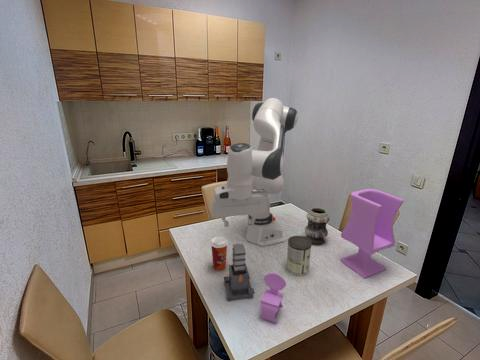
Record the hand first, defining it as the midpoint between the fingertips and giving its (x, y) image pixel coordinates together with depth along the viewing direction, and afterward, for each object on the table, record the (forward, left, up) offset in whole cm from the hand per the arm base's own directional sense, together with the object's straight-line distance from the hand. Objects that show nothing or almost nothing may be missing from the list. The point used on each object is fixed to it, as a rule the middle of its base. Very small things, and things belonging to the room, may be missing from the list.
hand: (239, 225), depth 94 cm
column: (0, 0, -27) cm, 27 cm away
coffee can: (-29, -9, -30) cm, 43 cm away
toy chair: (-10, +13, -30) cm, 34 cm away
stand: (0, 0, -30) cm, 30 cm away
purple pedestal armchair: (-60, -6, -30) cm, 67 cm away
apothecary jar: (-48, -30, -30) cm, 64 cm away
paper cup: (+6, -16, -30) cm, 34 cm away
